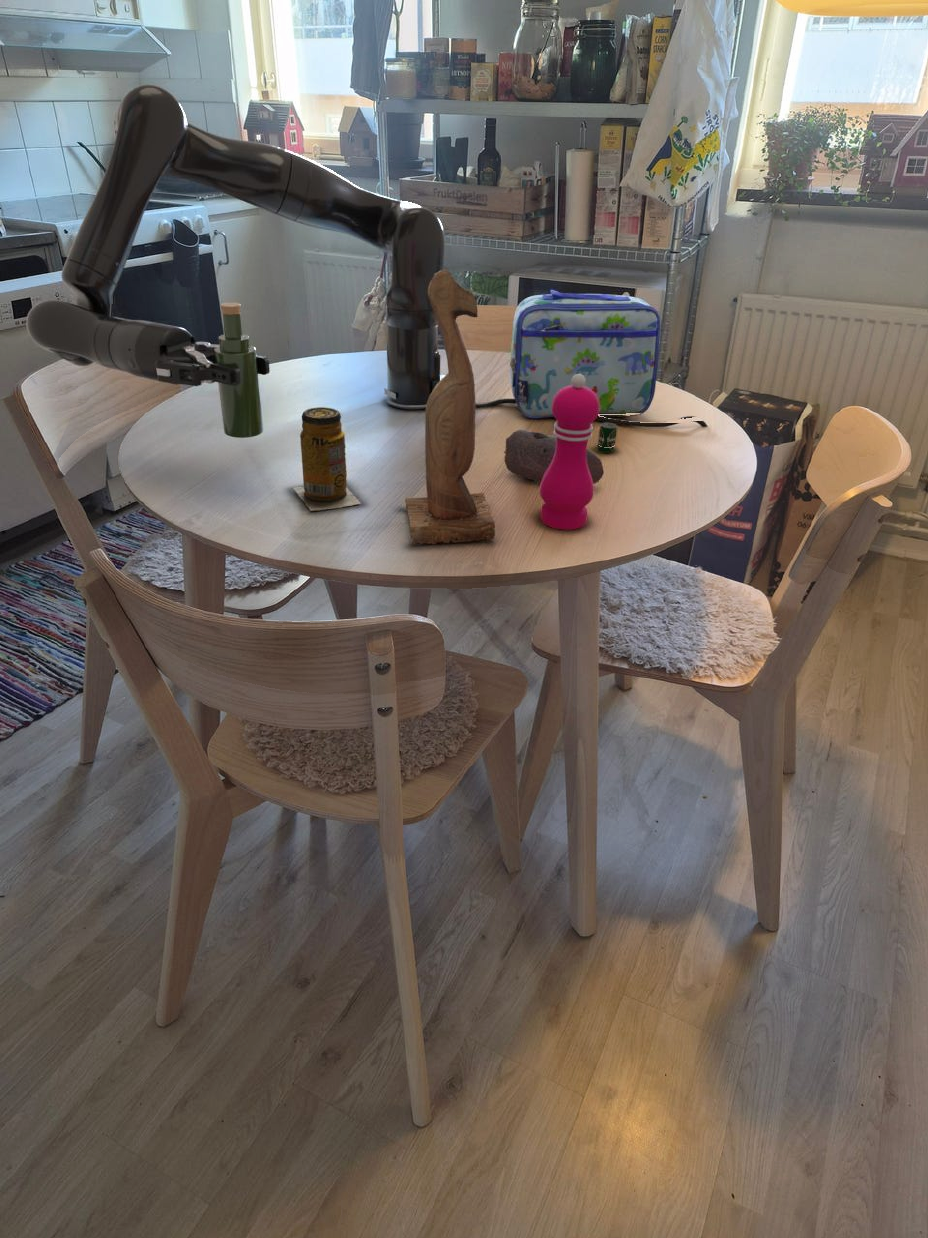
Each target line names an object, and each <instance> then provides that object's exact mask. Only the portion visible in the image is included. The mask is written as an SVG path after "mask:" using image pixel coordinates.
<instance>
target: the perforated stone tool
mask: <svg viewBox="0 0 928 1238" xmlns="http://www.w3.org/2000/svg"><path fill="white" fill-rule="evenodd" d="M555 450H556V436H555V435H549V434H545V433H542V432H537V431H531V430H526V429H518V430H515V431H513V432H512V433H511V434H510V435H509V436H508V437H507V438H506V439H505V450H504V451H503V454H504V463H505V467H506V469H507V470H508V471H509V472H510V473H512V474H514V475H517V476H520V477H521V478H522V477H523V478H525V479H528V480H533V481H537V482H541V481H542V478H543V476H544V474H545V472H546V470H547V469H548V467H549V465H550V463H551V461H552V459H553V457H554V454H555ZM586 459H587V465H588V468H589V471H590V474H591V477H592V480H593V485H594V484H597V483H599V482H600V480H601V479H603V476H604V475H605V471H604V465H603V462H602V460H601V458H600V457H599V456H598V455H597V454H595V452H593V451H591V450H590V449H588V448H587V449H586Z"/></svg>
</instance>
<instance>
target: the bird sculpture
mask: <svg viewBox="0 0 928 1238" xmlns="http://www.w3.org/2000/svg"><path fill="white" fill-rule="evenodd" d="M428 298H429V300H430V303H431V305H432V307H433V310H434V313H435V316H436V319H437V323H438V330H439V332H440V336H441V339H442V343H443V346H444V351H445V355H446V361H447V362H446V363H447V373H446V374H444V375H445V376H444V378H442V379H441V380H440V382H439V383H438V384H437V385H436V386H435V388H434V390H433V391H432V393H431V395H430V397H429V399H428V402H427V405H426V409H424V410H425V411H424V413H425V415H424V418H425V419H424V423H425V424H424V429H425V430H424V431H425V432H424V434H425V435H424V459H425V460H424V462H425V481H426V483H425V486H426V496H423V497H421V496H420V497H410V498H409V497H408V498H405V499H404V504H405V507H404V508H405V510H406V511H407V516H408V518H409V519H408V521H409V530H410V535H411V536H410V537H411V540H412V546H413V547H415V545H416V544H417V543H419V545H420V546H422V545H423V544H428V545H433V546H434V545H436V544H437V543H443V544H446V543H447V544H450V542H452V543H463V542H473V541H475V542H477V541H481V540H485V541H486V540H487V539H488V540H495V536H496V524H495V521H494V518H493V517H494V516H493V515H492V513H491V510H490V507H489V505H488V504H485V503H487V500H486V496H485V493H484V492H475V493H474V492H473V493H471V492H470V491H469V488H468V486H467V484H466V482H465V479H464V476H465V475H466V474H467V472H468V471H469V469H470V468H471V466H472V464H473V461H474V457H475V451H476V408H475V407H476V404H477V403H476V391H475V390H476V388H475V386H476V384H475V383H476V382H475V376H474V372H473V365H472V364H471V360H470V357H469V354H468V351H467V348H466V346H465V343H464V341H463V338H462V335H461V331H460V328H459V324H458V322H457V318H458V317H460V316H468V317H470V318H478V305H477V300H476V297H475V295H474V293H472V292H471V291H470V290H469V289H465V288H464V287H462V286H461V285H460V284H459V283H457V281H456V280H455V279H454V276H453V275H452V273H451V272H450V269H447V268H444V270H442V271H439V272H437V273H435V275H434V277H433V278H432V280H431V281H430V284H429V288H428ZM475 403H476V404H475ZM488 540H487V541H488Z"/></svg>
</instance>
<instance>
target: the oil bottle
mask: <svg viewBox="0 0 928 1238" xmlns="http://www.w3.org/2000/svg"><path fill="white" fill-rule="evenodd" d="M220 313H221V315H222V323H223V332H224V333H223V334H221V335H219V336H218V345H219V346H218V347H216V348H215V349H214V352H215V360H216V363H217V364H222V365H227V366H232V367H237V368H238V369H239V371H240V378H241V384H240V385H237V386H232V385H228V384H223V383H218V382H217V383H218V384H217V385H218V393H219V401H220V409H221V417H222V424H223V433H224V434H225V435H226V436H228V437H231V438H236V439H237V438H238V439H246V438H247V439H248V438H253V437H257V436H260V435H261V434H262V433H263V432H264V422H263V411H262V399H261V390H260V379H259V378H260V377H259V374H258V367H257V356H256V355H257V348H256V347H255V346H253V345H251V342H250V336H249V335H248V334H245V333H243V326H242V316H241V313H242V308H241V304H240V303H239V302H233V301H232V302H230V301H229V302H223V303H221V304H220Z"/></svg>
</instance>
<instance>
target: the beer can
mask: <svg viewBox="0 0 928 1238" xmlns="http://www.w3.org/2000/svg"><path fill="white" fill-rule="evenodd" d="M617 432H618V424H614V423H609V422H602V423H601V424H600V427H599V432H598V440H597V448H596V449H597V452H599V453H601V454H612V453H613V452H615V447H616V442H617V441H616V440H617ZM599 445H600V446H602V447H600V446H599ZM614 445H615V446H614ZM612 446H614V447H612ZM604 447H612V448H604Z"/></svg>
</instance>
